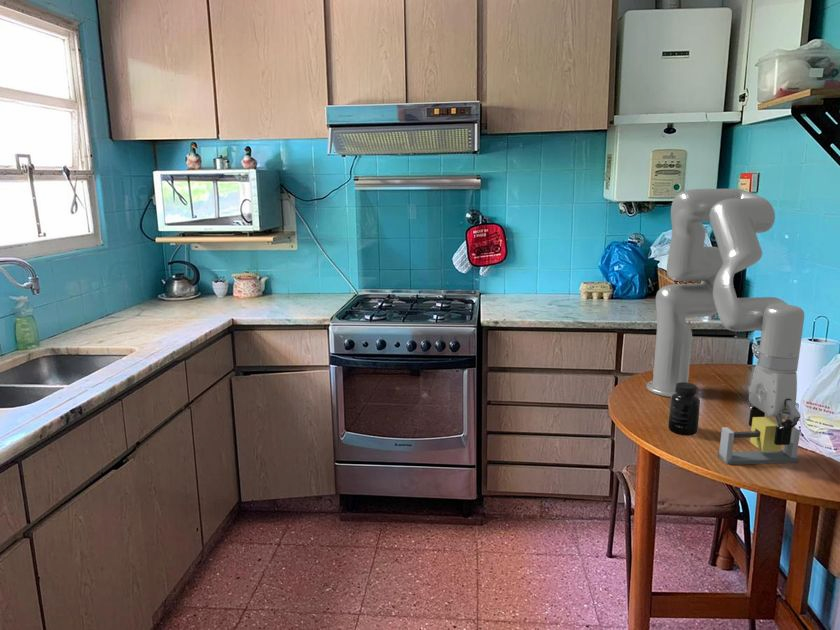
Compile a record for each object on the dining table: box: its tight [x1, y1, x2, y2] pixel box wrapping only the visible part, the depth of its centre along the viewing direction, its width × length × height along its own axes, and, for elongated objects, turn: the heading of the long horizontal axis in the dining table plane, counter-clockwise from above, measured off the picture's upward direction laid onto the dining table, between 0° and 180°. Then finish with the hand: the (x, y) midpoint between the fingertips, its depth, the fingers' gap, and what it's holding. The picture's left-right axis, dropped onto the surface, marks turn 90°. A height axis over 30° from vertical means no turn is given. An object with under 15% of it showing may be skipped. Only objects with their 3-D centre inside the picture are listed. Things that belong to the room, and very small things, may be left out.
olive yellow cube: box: [749, 416, 782, 452], centre depth 137 cm, size 5×4×6 cm
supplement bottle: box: [668, 382, 701, 437], centre depth 152 cm, size 7×7×12 cm
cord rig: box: [716, 426, 801, 465], centre depth 137 cm, size 4×16×8 cm, turn 92°
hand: (768, 434), depth 137 cm, fingers open, 9 cm apart
